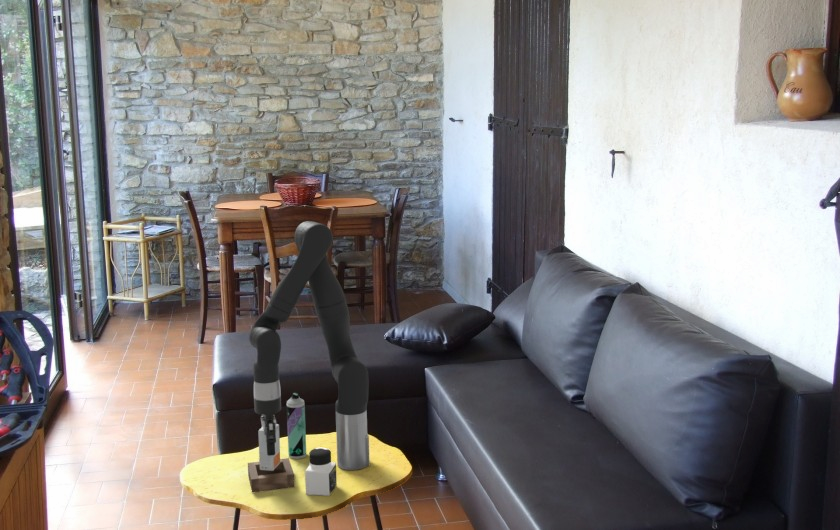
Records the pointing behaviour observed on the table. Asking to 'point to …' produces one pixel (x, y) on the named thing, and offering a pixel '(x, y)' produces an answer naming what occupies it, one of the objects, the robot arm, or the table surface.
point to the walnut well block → (271, 476)
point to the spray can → (296, 427)
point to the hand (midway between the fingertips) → (269, 449)
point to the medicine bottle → (320, 473)
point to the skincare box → (264, 459)
